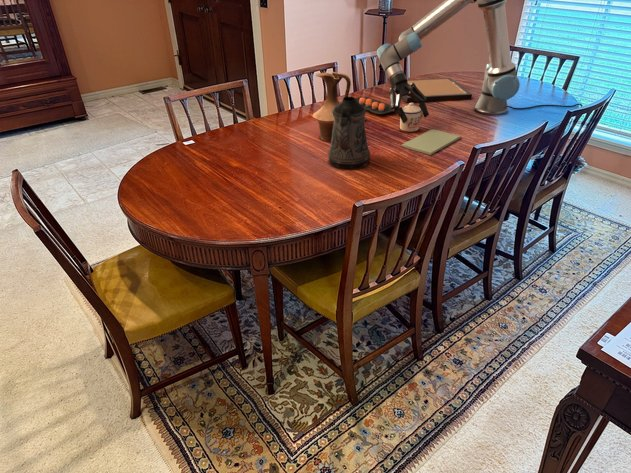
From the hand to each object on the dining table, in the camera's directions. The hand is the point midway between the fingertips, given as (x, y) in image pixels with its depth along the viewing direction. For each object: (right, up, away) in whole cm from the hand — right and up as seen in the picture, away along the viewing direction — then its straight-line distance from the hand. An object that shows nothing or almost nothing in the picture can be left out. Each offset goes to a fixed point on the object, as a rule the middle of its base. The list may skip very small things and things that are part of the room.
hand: (416, 118), depth 194 cm
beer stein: (-32, -24, -24) cm, 46 cm away
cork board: (+20, +30, +53) cm, 64 cm away
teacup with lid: (-1, -3, +5) cm, 6 cm away
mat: (+4, -12, -9) cm, 16 cm away
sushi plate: (-22, +12, +29) cm, 38 cm away
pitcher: (-38, -9, -1) cm, 39 cm away
